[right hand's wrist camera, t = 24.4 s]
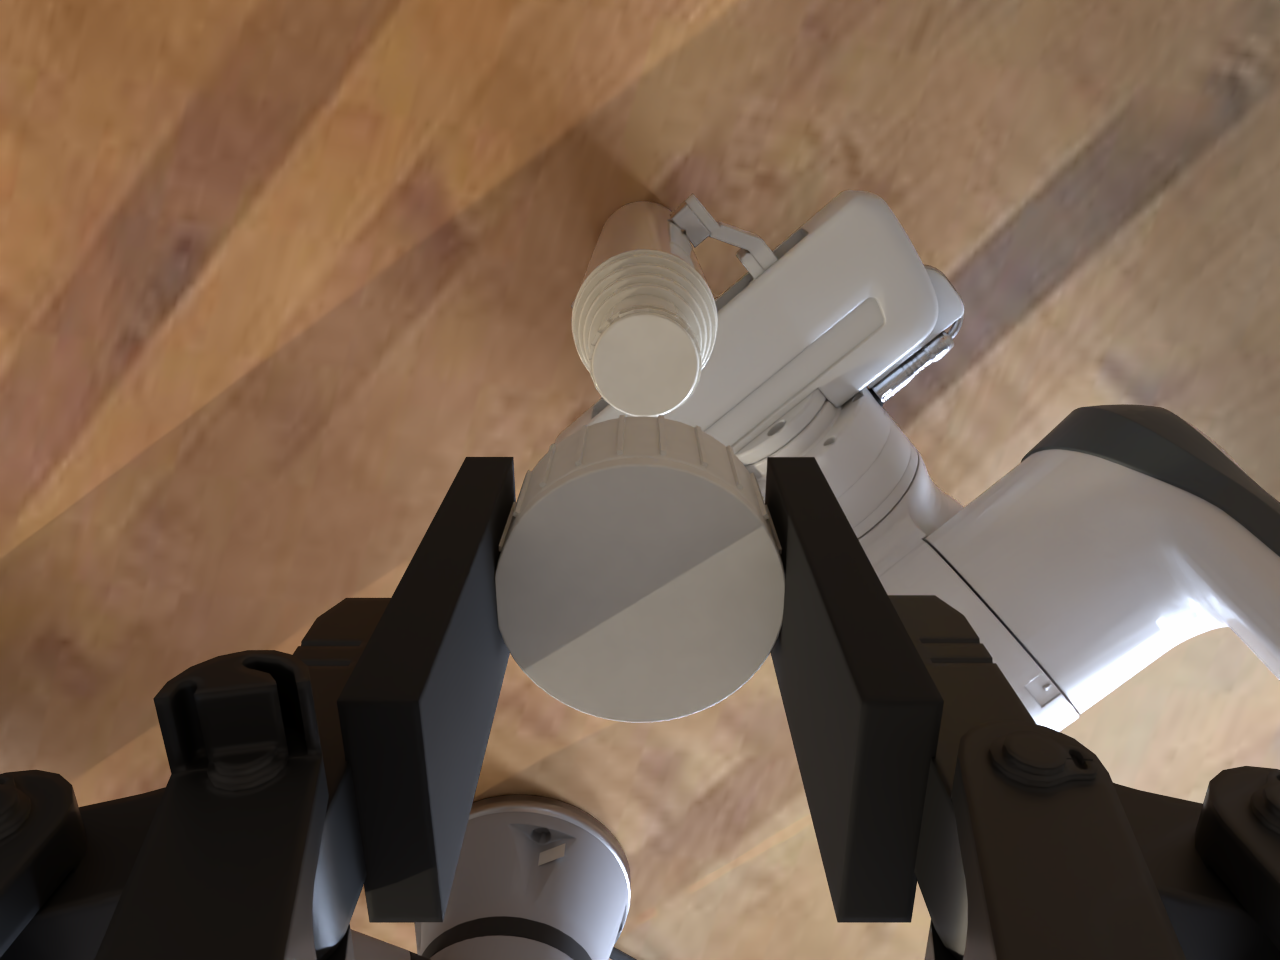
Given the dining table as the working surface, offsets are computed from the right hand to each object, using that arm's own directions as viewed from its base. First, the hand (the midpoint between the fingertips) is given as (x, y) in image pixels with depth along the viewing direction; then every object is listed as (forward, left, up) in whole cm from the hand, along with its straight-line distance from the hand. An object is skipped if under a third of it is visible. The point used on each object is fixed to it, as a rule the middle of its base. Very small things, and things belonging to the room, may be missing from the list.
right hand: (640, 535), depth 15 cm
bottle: (0, 0, -36) cm, 36 cm away
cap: (0, 0, +2) cm, 2 cm away
